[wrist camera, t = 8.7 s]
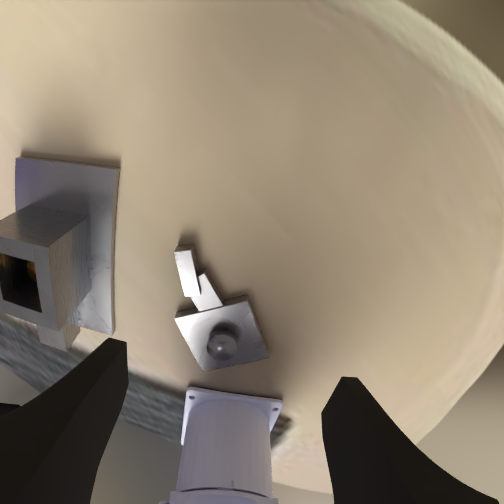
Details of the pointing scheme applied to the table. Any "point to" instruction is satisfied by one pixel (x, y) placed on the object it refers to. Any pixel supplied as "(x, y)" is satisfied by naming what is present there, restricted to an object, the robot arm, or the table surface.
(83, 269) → the gray hollow cube
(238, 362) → the gray t-shaped latch
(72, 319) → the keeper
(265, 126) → the table surface
